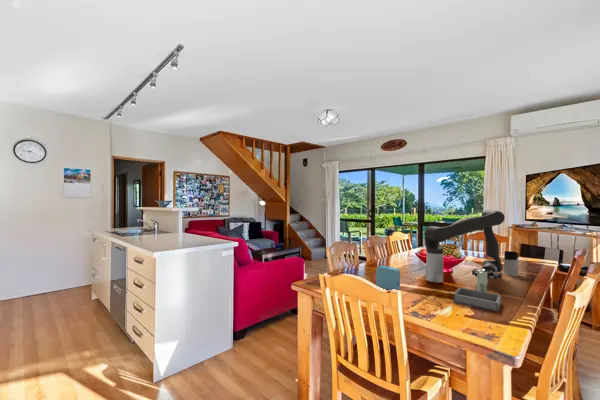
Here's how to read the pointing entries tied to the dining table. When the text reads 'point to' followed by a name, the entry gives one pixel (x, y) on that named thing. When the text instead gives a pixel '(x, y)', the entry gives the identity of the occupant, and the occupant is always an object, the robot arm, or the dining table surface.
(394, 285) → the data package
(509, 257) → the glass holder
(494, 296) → the tote
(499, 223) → the robot arm
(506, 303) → the dining table surface
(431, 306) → the dining table surface
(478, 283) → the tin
